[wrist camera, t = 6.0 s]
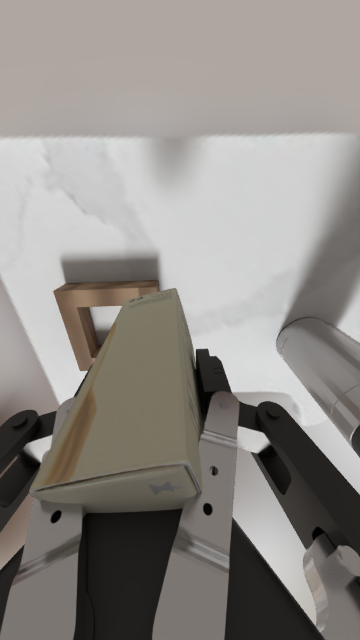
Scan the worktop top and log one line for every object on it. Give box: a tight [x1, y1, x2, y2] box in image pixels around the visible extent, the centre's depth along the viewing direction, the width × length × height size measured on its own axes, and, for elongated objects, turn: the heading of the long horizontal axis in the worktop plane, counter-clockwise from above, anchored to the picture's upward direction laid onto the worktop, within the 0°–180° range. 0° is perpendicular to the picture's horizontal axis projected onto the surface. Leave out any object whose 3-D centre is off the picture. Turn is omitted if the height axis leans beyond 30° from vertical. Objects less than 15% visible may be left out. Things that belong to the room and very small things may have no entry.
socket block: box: [53, 280, 159, 371], centre depth 32 cm, size 14×14×4 cm
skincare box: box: [29, 288, 205, 513], centre depth 11 cm, size 6×4×12 cm
